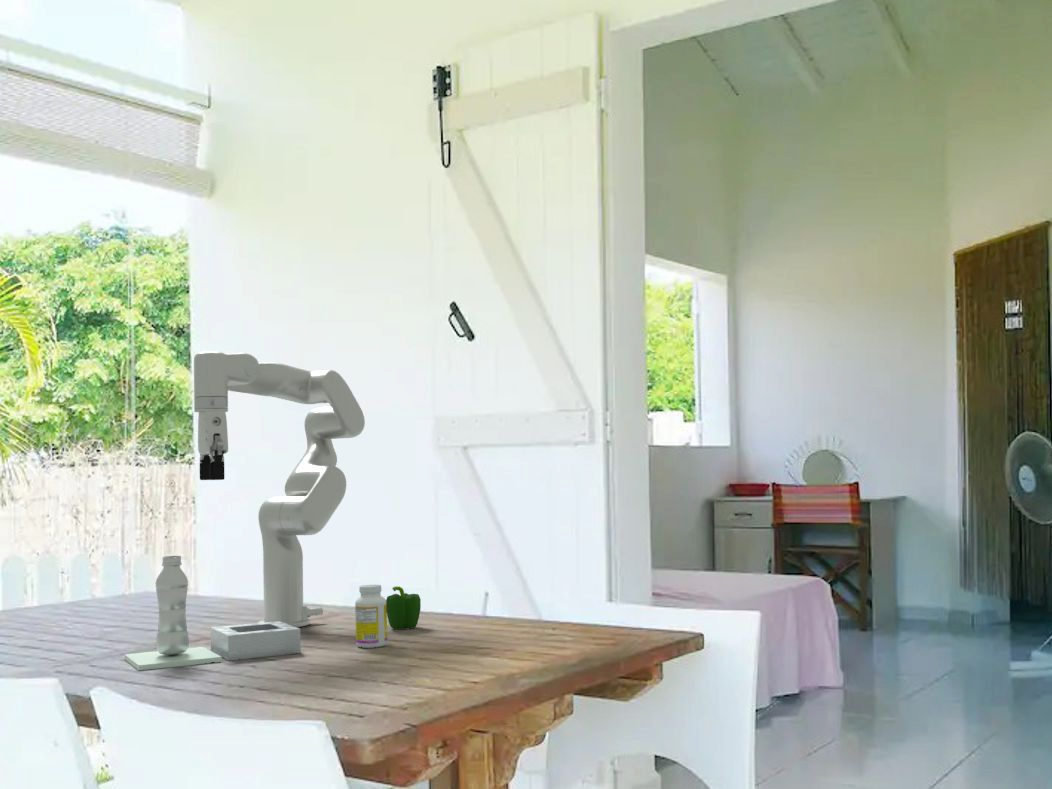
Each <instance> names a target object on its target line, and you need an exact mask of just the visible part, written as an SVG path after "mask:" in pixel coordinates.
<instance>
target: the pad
mask: <svg viewBox="0 0 1052 789" xmlns="http://www.w3.org/2000/svg"><path fill="white" fill-rule="evenodd" d="M222 659H223V657H221V656H219V655H217V654H216V653H214V652H212V651H211V649H208V648H207V647H204V646H198V647H197V646H196V647H188V649H187V651H186V652H184V653H181V654H178V655H174V656H169V655H164V654H159V652H158V651H147V652H146V651H145V652H136V653H126V654H124V660H125V661H126V662H127V663H129V665H131V666H132V667H134V668H135V669H136V670H138V671H148V670H156V669H167V668H175V667H185V666H195V665H205V663H206V664H212V663H211V662H215V663H222Z"/></svg>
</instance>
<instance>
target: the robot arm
mask: <svg viewBox="0 0 1052 789" xmlns="http://www.w3.org/2000/svg"><path fill="white" fill-rule="evenodd" d="M228 392H233V393H240V394H241V393H243V394H250V395H255V396H263V397H272V398H276V399H281V400H285V401H290V402H294V403H298V404H303V405H321V404H329V406H321V407H316V408H313V409H311V410H309V412H308V413H307V414H306V416H305V418H304V432H305V436H306V438H305V439H306V445H307V447H306V451H305V453H304V454H303V456H302V457H301V459H300V460H299V462H298V463H297V465H296V466H295V467H294V469H293V470H292V471H291V473H290V474H289V476H288V478H287V479H286V482H285V484H284V493H285V495H282V496H281V495H279V496H273V497H271V498H267V499H266V500H264V502H263V503H262V504H261V505H260V507H259V509H258V525H259V529H260V534H261V540H262V552H263V553H262V556H263V558H262V559H263V560H262V561H263V570H262V571H263V620H259V621H257V623H264V622H275V621H281V622H283V623H286V624H289V625H291V626H294V627H297V628H300V627H306V626H309V625H310V624H311V619H310V618H311V616H315V617H316V616H323V615H324V608H323V607H322V606H321V607H320V606H319V607H309V606H307V605H306V604H305V605H304V567H303V566H304V563H303V562H304V556H303V548H302V545H301V542H300V540H299V538H298V536H313V535H314V536H315V535H316V534H318V533H319V532H321V531H323V529H324V528H325V526H326V525H327V524H328V522H329V521H330V519H331V518H332V516H333V514H334V513H335V512H336V510H337V509H338V507H339V505H340V504H341V503H342V501H343V499H344V497H345V493H346V490H347V478H346V475H345V473H344V471H342V470H341V469H340V468H339V467H338V466H337V463H338V457H337V456H338V455H337V453H336V450H335V447H334V445H333V440H334V439H335V440H336V439H352V438H356V437H358V436H359V435H360V434H361V433H362V432H363V431H364V428H365V425H366V424H365V416H364V413H363V409H362V408H361V406H360V403H359V402H358V400H357V399H356V397H355V396H354V393H353V392H352V390H351V388H350V386H349V384H348V383H347V382H346V380H345V379H344V377H342V376H341V374H340V373H339V372H337V371H336V370H333V369H325V370H324V369H323V370H306V369H302V368H299V367H298V368H297V367H294V366H291V365H287V364H284V363H280V362H279V363H278V362H259V361H258V359H257V358H256V357H255V356H253V355H252V354H250V353H247V352H238V353H237V352H236V353H225V352H221V351H220V352H219V351H201V352H197V353H196V354H195V355H194V357H193V396H194V397H193V401H194V403H193V404H194V406H193V408H194V410H193V412H194V413H198V416H197V417H198V418H197V419H198V421H197V422H198V423H197V450H198V453H199V481H221V480H225V456H224V455H226V454H227V453H228V452H229V438H228V435H229V434H228V421H227V420H228V419H227V413H228V412H229V393H228ZM226 412H227V413H226Z"/></svg>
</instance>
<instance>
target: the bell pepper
mask: <svg viewBox="0 0 1052 789" xmlns="http://www.w3.org/2000/svg"><path fill="white" fill-rule="evenodd" d="M392 591H393V592H396V591H399V594H398V593H392V594H391V595H388V596H387V597H386V598H385V599H386V609H387V620H388V623H389V626H390V628H391V629H395V630H404V629H407V628H410V629H414V628H416V626H418V622H419V618H420V614H421V609H422V608H421V605H422V604H421V596H420V595H419V593H418V594H417V593H410V594H409V593H407V592H405V591H404V589H403V588H402V587H401V586H396V585H395V586H393V587H392Z"/></svg>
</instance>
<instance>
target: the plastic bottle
mask: <svg viewBox="0 0 1052 789" xmlns="http://www.w3.org/2000/svg"><path fill="white" fill-rule="evenodd" d="M161 566H162V567H163V568H162V569H161V571H160V573H159V575H158V576H157V578H156V580H155V590H156V597H157V609H158V625H157V632H156V639H155V646H156V650H157V651H158V652H159V654H164V655H169V656H174V655H178V654H181V653H184V652H186V651H187V649H188V648H190V647H189V645H190V636H189V632H188V626H187V625H188V624H187V615H186V614H187V612H186V611H187V610H186V609H187V596H188V585H189V580H188V576H186V573H185V572H184V571H183V570H182V568H181V566H182V556H181V555H168V556H167V555H165V556H162V563H161Z"/></svg>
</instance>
